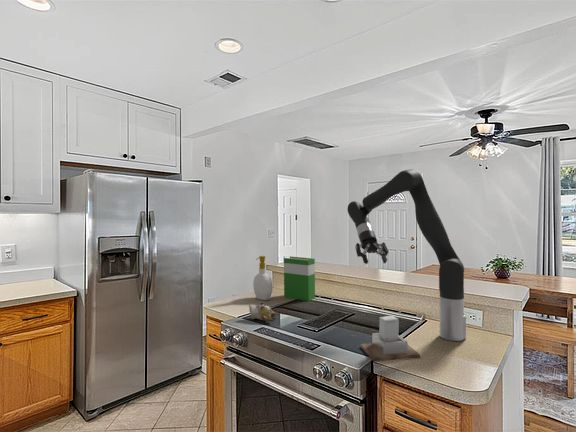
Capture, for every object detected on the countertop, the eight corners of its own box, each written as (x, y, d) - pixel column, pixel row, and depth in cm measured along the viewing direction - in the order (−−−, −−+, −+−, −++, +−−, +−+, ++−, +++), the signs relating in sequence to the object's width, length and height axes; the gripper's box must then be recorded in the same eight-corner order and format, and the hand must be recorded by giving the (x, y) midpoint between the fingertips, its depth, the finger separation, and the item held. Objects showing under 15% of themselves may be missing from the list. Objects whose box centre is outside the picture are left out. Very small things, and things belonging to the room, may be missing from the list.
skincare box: (384, 351, 131) (384, 320, 130) (378, 347, 135) (378, 316, 134) (399, 350, 132) (399, 318, 132) (392, 345, 136) (392, 315, 136)
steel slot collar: (394, 342, 139) (394, 331, 139) (407, 353, 129) (407, 341, 129) (372, 344, 138) (372, 333, 137) (383, 355, 127) (383, 343, 127)
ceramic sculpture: (253, 298, 180) (281, 302, 175) (253, 314, 180) (280, 319, 175) (245, 304, 170) (273, 308, 165) (244, 321, 170) (273, 326, 165)
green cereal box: (284, 296, 215) (283, 258, 214) (291, 294, 221) (290, 256, 220) (308, 301, 205) (308, 260, 204) (315, 298, 211) (314, 258, 210)
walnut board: (403, 343, 141) (403, 340, 141) (420, 357, 128) (420, 354, 128) (360, 346, 138) (360, 344, 138) (373, 361, 125) (373, 358, 125)
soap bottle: (248, 298, 212) (248, 255, 211) (259, 295, 218) (259, 254, 217) (265, 302, 202) (264, 258, 201) (276, 299, 208) (275, 256, 207)
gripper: (353, 229, 161) (363, 258, 150) (382, 229, 163) (394, 257, 152) (350, 240, 167) (358, 268, 156) (378, 239, 169) (388, 267, 158)
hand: (376, 262), depth 154 cm, fingers open, 8 cm apart
